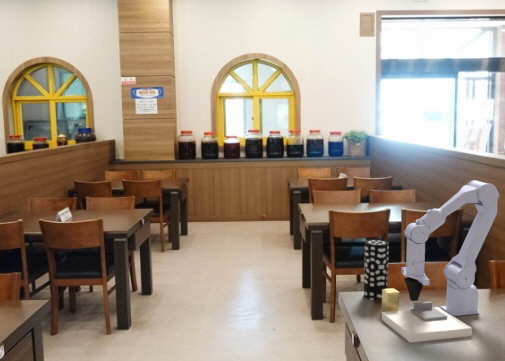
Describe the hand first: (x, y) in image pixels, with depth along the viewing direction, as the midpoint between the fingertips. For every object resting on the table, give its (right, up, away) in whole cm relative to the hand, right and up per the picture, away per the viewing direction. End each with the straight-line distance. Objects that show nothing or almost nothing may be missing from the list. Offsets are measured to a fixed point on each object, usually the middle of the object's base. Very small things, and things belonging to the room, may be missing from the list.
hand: (414, 300), depth 177 cm
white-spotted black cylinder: (-9, -3, +17) cm, 19 cm away
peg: (-8, -5, 0) cm, 9 cm away
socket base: (0, -6, -12) cm, 13 cm away
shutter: (+2, -3, -8) cm, 9 cm away
